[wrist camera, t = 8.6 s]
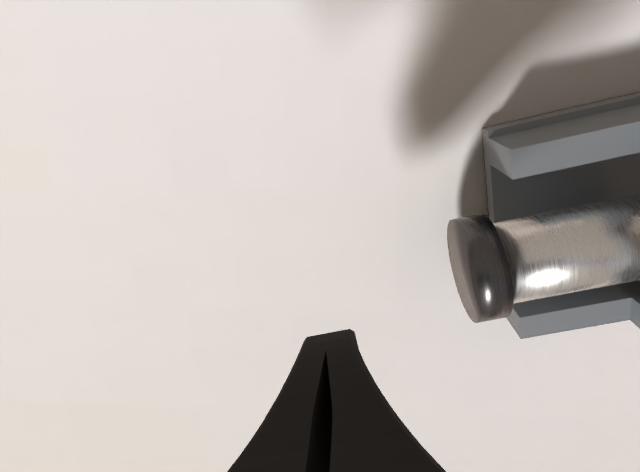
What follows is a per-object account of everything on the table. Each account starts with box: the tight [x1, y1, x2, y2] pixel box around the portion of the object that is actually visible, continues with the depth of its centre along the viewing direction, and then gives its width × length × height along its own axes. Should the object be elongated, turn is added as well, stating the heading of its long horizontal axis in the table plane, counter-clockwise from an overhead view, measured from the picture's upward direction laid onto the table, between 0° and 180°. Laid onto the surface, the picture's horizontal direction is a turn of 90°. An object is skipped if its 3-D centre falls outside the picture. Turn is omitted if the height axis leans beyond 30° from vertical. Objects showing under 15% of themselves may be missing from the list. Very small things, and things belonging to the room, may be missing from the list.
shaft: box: [447, 193, 640, 323], centre depth 14 cm, size 7×4×4 cm, turn 103°
